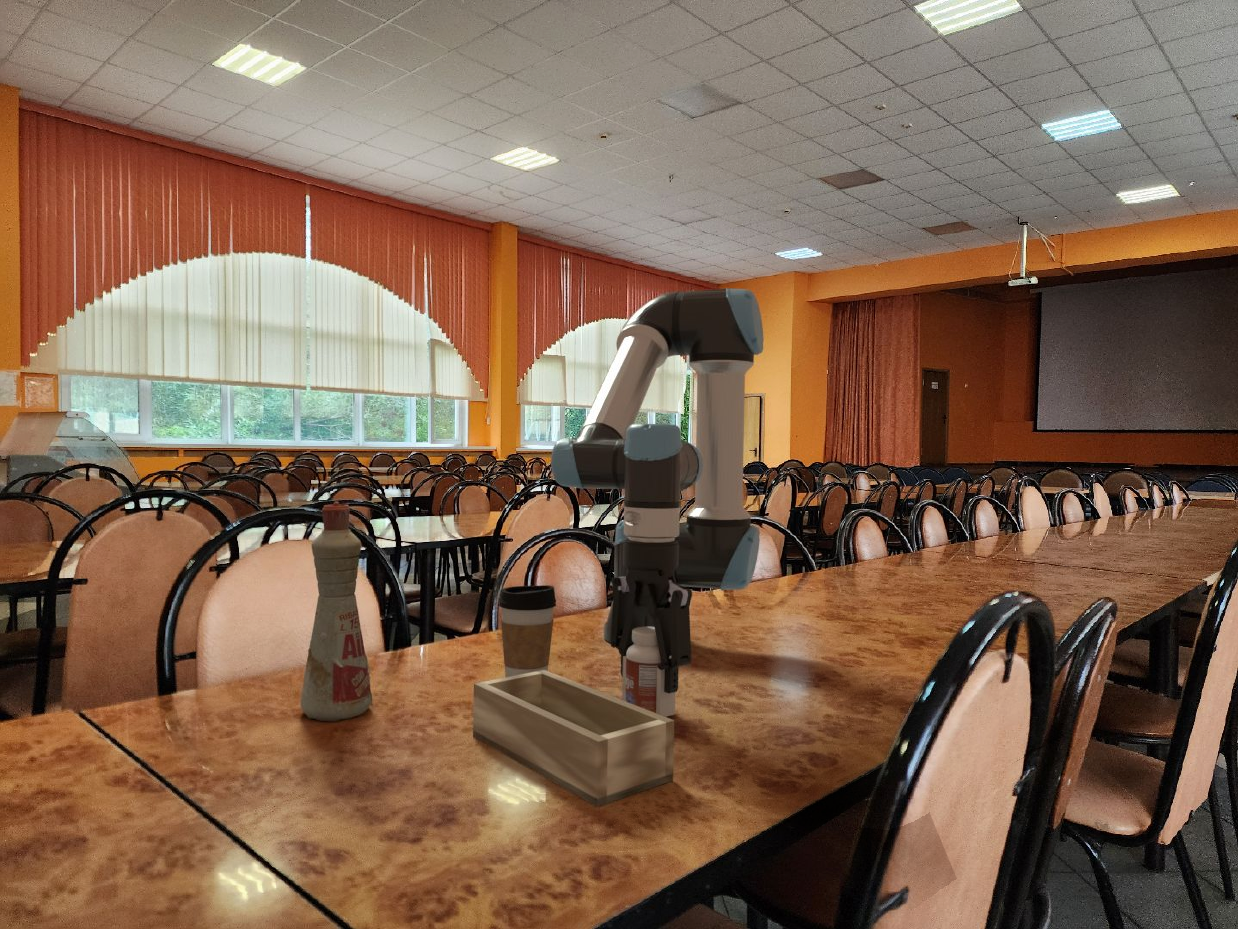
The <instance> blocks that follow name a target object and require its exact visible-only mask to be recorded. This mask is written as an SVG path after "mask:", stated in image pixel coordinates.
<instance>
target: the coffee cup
mask: <svg viewBox="0 0 1238 929" xmlns="http://www.w3.org/2000/svg"><path fill="white" fill-rule="evenodd" d="M555 591H556V590H555V587H554V585H547V584H546V585H545V584H544V585H543V584H541V585H515V586H508V587H505V588H502V589H501V590H500V597H499V599H498V602H499V603H498V606H499V607H500V608H501V619H500V626H501V628H500V629H501V638H502V639H501V640H502V652H503V664H504V675H505V676H504V678H505V677H510V676H515V675H521V674H526V673H531V672H536V671H541V670H546V671H548V672H549V664H550V663H549V662H550V654H551V647H552V646H551V645H552V636H553V626H554V619H553V614H554V607H556V606H557V604H556V603H557V599H556V592H555Z"/></svg>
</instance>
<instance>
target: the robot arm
mask: <svg viewBox="0 0 1238 929" xmlns="http://www.w3.org/2000/svg"><path fill="white" fill-rule="evenodd" d="M763 329H764V328H763V321H762V315H761V310H760V306H759V302H758V299H757V297H756V295H755V294H754V292H752V291H751V290H750V289H747V288H729V287H726V288H719V289H717V288H716V289H702V290H685V291H681V290H679V291H670V292H665V293H662V294H659V295H658V296H656V297H654V298H652V299H651V300H649V301H647V302H646V303H644V304H643V305H641V307H639V308H638V309H637V310H636V311H635V312H634V313H632V315H631V316H630V317H628V319H627V320H626V321H625V323H624V325H623V326H622V328H621V329H620V332H619V334H618V335H617V339H616V344H615V345H616V354H615V355H614V358H613V360H612V362H611V364H610V366H609V368H608V370H607V373H606V375H605V377H604V379H603V381H602V383H601V385H600V388H599V390H598V392H597V394H596V396H595V398H594V400H593V402H592V404H591V407H590V408H589V411H588V413H587V415H586V417H585V420H584V421H583V424H582V426H581V428H580V430H579V432H578V434H577V436H576V437H573V436H570V437H567V438H565V437H564V438H561V439H559V440H557V441H556V442H555V443H554V446H553V448H552V451H551V457H550V467H551V472H552V476H553V478H554V480H555V482H556V483H557V484H558V485H560V486H562V487H568V488H577V489H581V490H583V489H602V490H603V489H604V490H606V489H607V490H608V489H610V490H611V489H612V490H615V489H616V490H624V495H623V496H624V497H623V498H624V499H623V500H624V501H623V503H624V504H623V506H624V508H623V512H624V513H623V520H621V521H619V522H618V523H617V525H616V527H615V538H614V543H613V546H614V559H613V560H614V563H613V564H614V567H613V570H614V574H613V576H614V577H612V579H611V587H612V593H613V596H612V602H611V606H610V608H609V612H608V615H607V619H606V622H605V623H604V626H603V639H604V640H605V641H606V642H608V643H610V647H611V648H613V649H617V650H618V654H619V655H620V675H621V678H622V685H621V686H622V692H621V693H622V694H621V695H622V696H621V700H623V701H625V690H626V653H627V650H628V648H629V647H630V646H631V645H633V644H634V642H633V641H632V630H633V629H635V628H638V627H655V632H656V638H657V643H658V648H659V653H660V658H661V664H662V665H659V666H658V668H657V694H656V714H659V715H662V716H664V717H667V718H668V717H670V716H674V715H675V714H676V693H677V691H678V689H679V671H680V670H679V669H680V667H683V666H688V665H690V664H691V663H692V649H691V648H692V647H691V645H692V644H691V620H690V619H691V616H690V607H691V606H690V605H691V601H692V596H693V591H692V590H691V587H692V588H703V589H704V588H706V589H715V590H717V589H719V590H720V591H725V590H728V591H729V590H731V591H732V590H734V591H735V590H737V591H739V590H744V589H746V588H747V587H748V586H749V585H750V583H751V581H752V579H753V577H754V574H755V570H756V566H757V562H758V561H757V560H758V556H759V550H760V542H761V540H760V528H759V527H758V526H755V525H751V524H752V523H751V522H752V521H751V514H750V513H749V512H748V511H747V510H746V509H745V508H744V506H743V491H744V489H743V488H744V487H743V486H744V484H743V483H744V443H745V442H744V436H745V434H744V433H745V395H746V393H745V391H746V390H745V389H746V388H745V386H746V374H747V372H749V370H751V368H752V367H753V366H754V365H755V363H754V360H755V355H756V356H758V355H761V353H763V350H764V330H763ZM672 356H673V357H674V356H675V357H676V356H680V357H681V356H682V357H683V356H688V357H689V359H688V366H690V368H692V370H693V371H694V372H695V373H696V375H697V376H696V378H697V379H696V382H697V383H696V425H695V426H696V428H695V429H696V430H695V433H696V435H695V438H696V439H695V445H693V444H692V443H691V442H688V441H685V440H684V439H682V432H681V428H680V427H679V426H678V425H676V424H671V423H670V424H669V423H667V424H666V423H635V422H636V420H637V417H638V416H639V412H640V409H641V407H642V405H643V403H644V401H645V398H646V395H647V393H648V390H649V388H650V386H651V383H652V381H653V378H654V376H655V374H656V371H657V369H658V368H660V367H661V366H663V365H664V364H665V362H666V360H667V358H669V357H672ZM693 485H695V486H694V487H695V488H694V489H695V493H694V495H695V496H694V500H695V501H694V506H693V507H692V508H691V509H690V510H689V511H688V512H687V513H686V520H685V521H686V522H680V500H681V496H680V495H681V492H683V491H685V490H688V488H690V487H693ZM682 587H690V588H682ZM670 656H671V658H670V659H669V657H670Z"/></svg>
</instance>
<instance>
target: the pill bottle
mask: <svg viewBox="0 0 1238 929" xmlns="http://www.w3.org/2000/svg"><path fill="white" fill-rule="evenodd" d="M632 641H633V642H634V644H633V645H631V646H630V647H629V648H628V650H627V653H626V690H625V701H626V702H628V703H631V704H633V705H636V706H638V707H641V708H644V709H646V710H649V711H651V712H654V713H656V694H657V668H658V666H659V665H662V664H661V658H660V653H659V648H658V643H657V638H656V632H655V627H638V628H635V629H633V630H632ZM670 658H671V656H670V657H669V659H670Z"/></svg>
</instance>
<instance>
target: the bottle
mask: <svg viewBox="0 0 1238 929" xmlns="http://www.w3.org/2000/svg"><path fill="white" fill-rule="evenodd" d="M350 510H351V507H350V506H349V504H340V502H339V501H336V500H335V501H334V502H333V504H325V505H323V508H322V509H321V512H322V513H321V514H322V522H323V528H324V529H323V530H321V533H320V534H318V535H317V537H316V538H315V539H314V540H313V541H312V543H311V550H312V556H313V563H314V568H315V576H316V581H317V590H318V597H317V602H316V609H315V615H314V621H313V626H312V632H311V638H310V641H309V648H308V651H307V652H308V653H307V658H306V665H305V669H304V674H303V677H304V678H303V684H302V688H301V689H302V690H301V694H300V695H301V697H300V707H301V708H300V709H301V710H302V711H303V712H304V714H305V715H306V716H307V717H306V718H308V719H309V720H311V719H315V720H317V721H321V722H329V723H331V722H337V721H339V722H340V721H344V720H349V719H351V718H355V717H358V716H361V715H362V714H364V713H365V712H366V711H367V710H368V709H369V707H370V706H371V705H372V702H373V693H372V691H371V676H370V673H371V672H370V671H371V669H370V665H369V661H368V657H367V654H366V650H365V646H364V639H363V632H362V627H361V622H360V615H359V614H360V613H359V609H358V603H357V596H356V593H355V592H356V588H357V578H358V572H359V563H360V555H361V550H362V542H361V539H360V538H358V537H357V535H355V534H354V533H353V532H352V531H351V529H350V528H349V527H350V512H351V511H350Z"/></svg>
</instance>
